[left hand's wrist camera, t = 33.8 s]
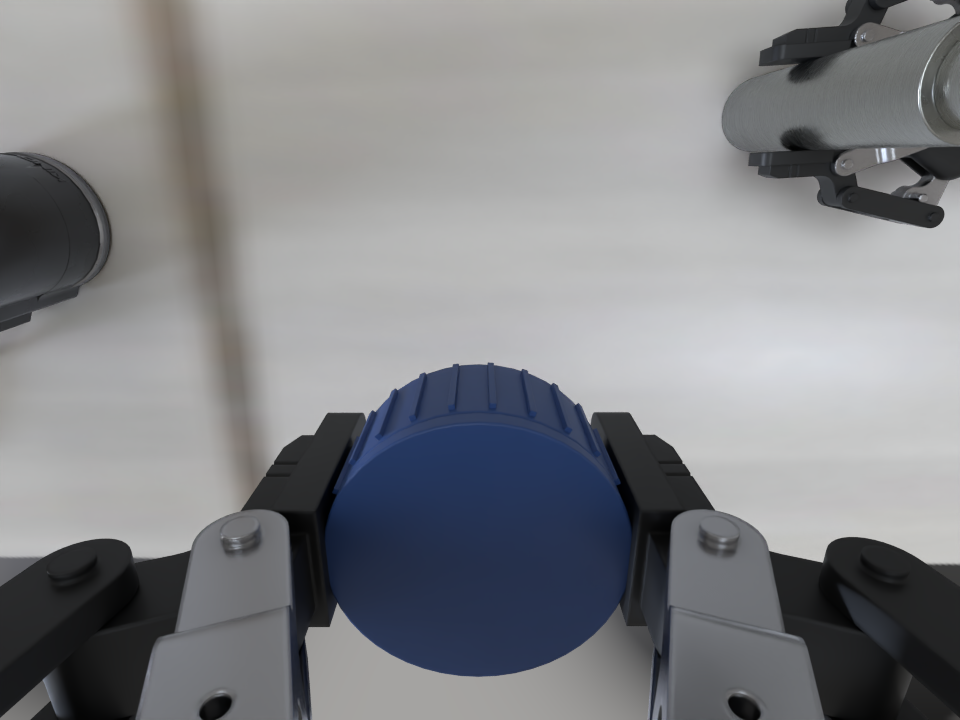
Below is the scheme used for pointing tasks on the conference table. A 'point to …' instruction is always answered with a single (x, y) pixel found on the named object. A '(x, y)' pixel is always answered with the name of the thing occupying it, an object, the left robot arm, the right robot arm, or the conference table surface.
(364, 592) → the lid
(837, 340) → the conference table surface
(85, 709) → the left robot arm
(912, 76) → the metal bottle
